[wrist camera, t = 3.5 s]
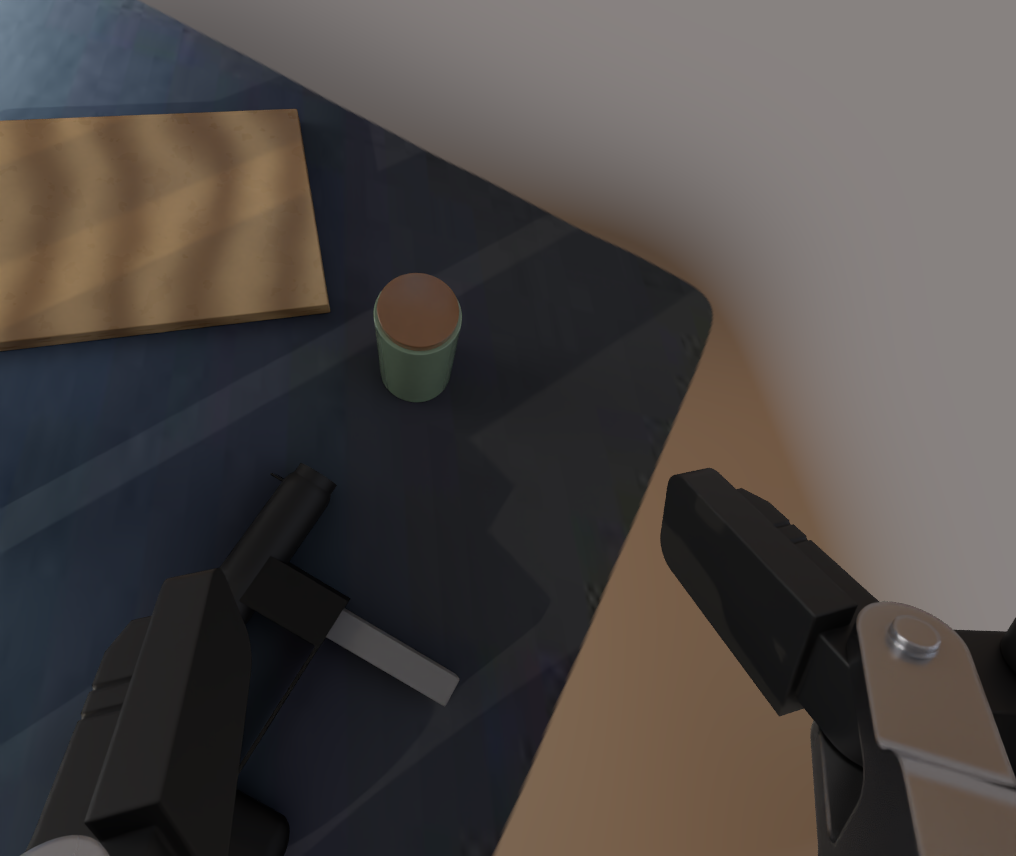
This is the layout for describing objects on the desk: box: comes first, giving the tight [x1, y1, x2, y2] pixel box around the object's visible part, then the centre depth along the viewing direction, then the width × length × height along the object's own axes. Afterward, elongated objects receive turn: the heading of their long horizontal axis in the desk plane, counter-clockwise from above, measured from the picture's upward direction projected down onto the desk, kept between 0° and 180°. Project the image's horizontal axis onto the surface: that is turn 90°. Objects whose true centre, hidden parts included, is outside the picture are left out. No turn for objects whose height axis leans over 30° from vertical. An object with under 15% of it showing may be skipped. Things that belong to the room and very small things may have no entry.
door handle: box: [219, 463, 460, 856], centre depth 32 cm, size 3×20×16 cm
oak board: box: [0, 109, 330, 351], centre depth 37 cm, size 24×16×1 cm, turn 102°
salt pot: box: [374, 273, 462, 402], centre depth 35 cm, size 5×5×9 cm
